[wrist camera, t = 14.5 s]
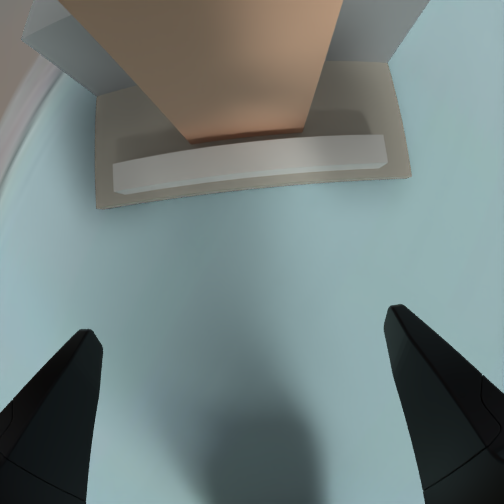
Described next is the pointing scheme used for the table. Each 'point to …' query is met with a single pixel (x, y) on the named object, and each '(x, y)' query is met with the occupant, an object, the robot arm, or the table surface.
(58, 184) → the table surface
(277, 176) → the wall board
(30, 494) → the robot arm
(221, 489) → the table surface
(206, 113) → the tan tall block
